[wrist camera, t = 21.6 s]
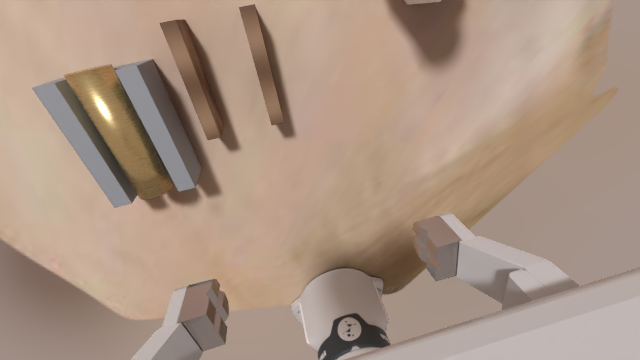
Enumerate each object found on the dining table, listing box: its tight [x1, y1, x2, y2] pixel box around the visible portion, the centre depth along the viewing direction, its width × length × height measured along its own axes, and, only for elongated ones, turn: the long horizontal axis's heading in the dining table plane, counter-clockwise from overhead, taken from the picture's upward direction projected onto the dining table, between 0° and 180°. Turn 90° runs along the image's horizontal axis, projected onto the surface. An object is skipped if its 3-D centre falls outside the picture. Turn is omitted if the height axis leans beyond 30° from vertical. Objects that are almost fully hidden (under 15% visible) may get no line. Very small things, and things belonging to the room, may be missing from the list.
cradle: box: [32, 59, 202, 208], centre depth 32 cm, size 14×10×5 cm
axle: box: [64, 64, 174, 200], centre depth 31 cm, size 14×4×4 cm, turn 10°
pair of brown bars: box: [160, 4, 284, 140], centre depth 32 cm, size 12×9×4 cm
